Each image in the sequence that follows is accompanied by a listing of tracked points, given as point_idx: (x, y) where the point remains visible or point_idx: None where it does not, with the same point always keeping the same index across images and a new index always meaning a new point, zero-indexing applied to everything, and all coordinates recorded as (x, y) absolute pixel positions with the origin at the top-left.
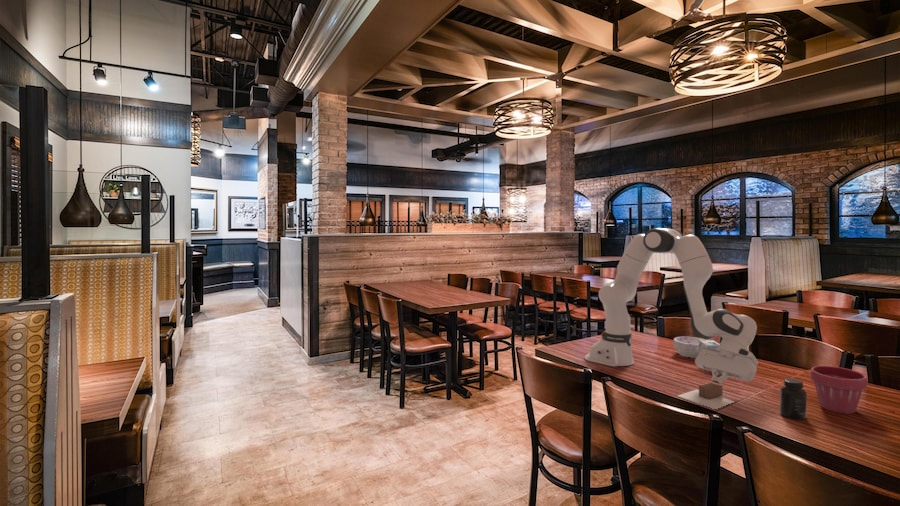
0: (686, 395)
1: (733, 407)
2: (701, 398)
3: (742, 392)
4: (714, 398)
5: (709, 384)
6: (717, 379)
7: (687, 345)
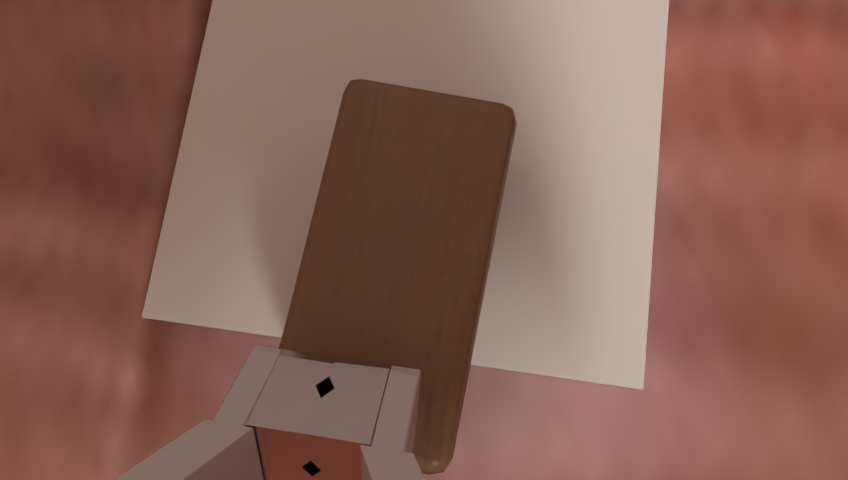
0: (606, 66)
1: (124, 165)
2: None
3: None
4: None
5: (430, 304)
6: (288, 381)
7: None
